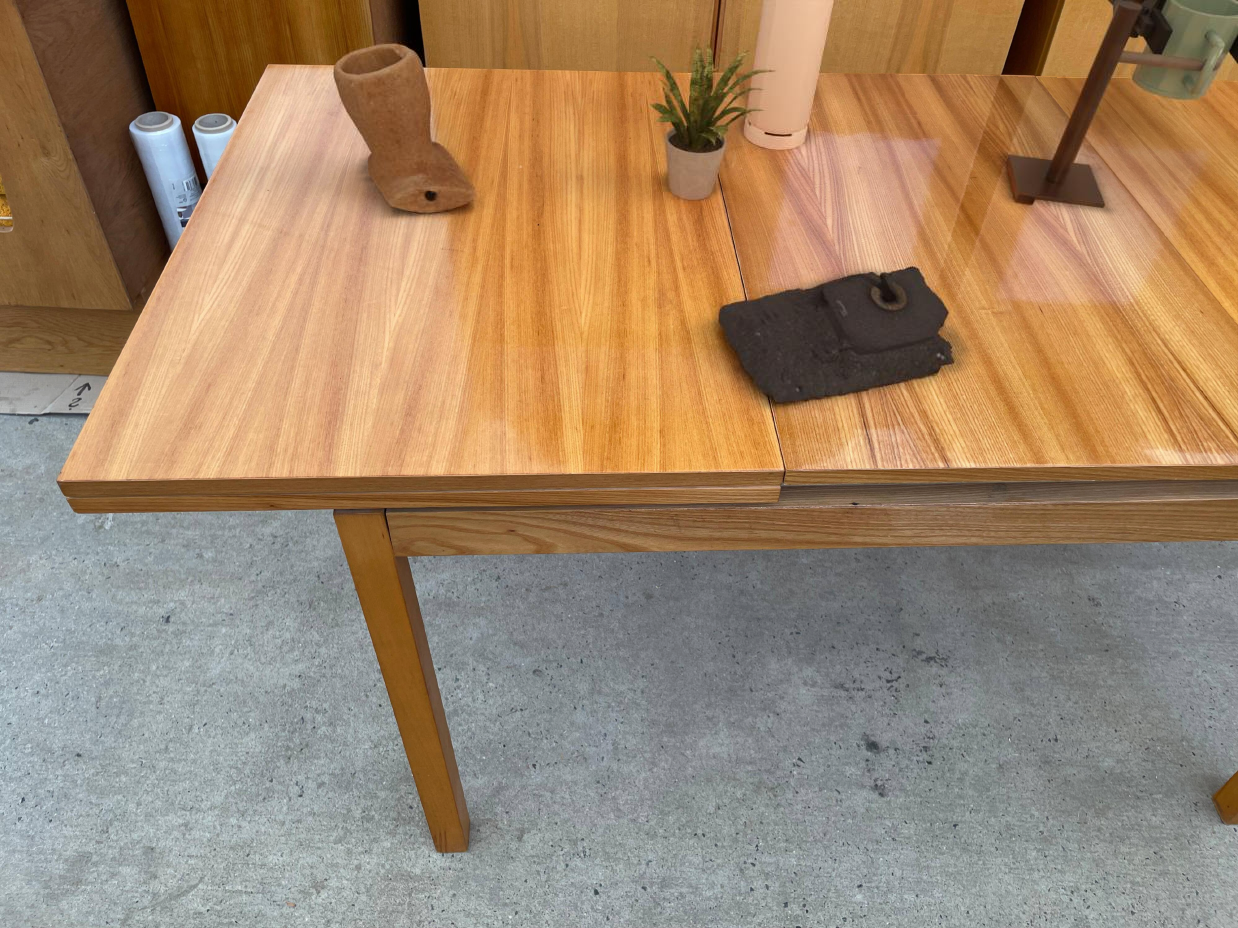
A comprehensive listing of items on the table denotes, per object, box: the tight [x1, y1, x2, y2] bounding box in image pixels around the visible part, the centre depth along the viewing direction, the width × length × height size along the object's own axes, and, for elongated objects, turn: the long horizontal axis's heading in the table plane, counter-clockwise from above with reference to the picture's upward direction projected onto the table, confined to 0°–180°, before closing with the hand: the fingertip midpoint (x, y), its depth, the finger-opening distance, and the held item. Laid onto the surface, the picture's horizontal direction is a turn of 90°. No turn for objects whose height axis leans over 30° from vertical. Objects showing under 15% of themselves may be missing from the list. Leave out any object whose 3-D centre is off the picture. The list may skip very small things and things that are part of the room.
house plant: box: [646, 39, 779, 201], centre depth 99 cm, size 14×14×16 cm
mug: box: [1131, 0, 1238, 101], centre depth 100 cm, size 12×8×9 cm
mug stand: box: [1005, 1, 1222, 209], centre depth 102 cm, size 17×10×21 cm, turn 80°
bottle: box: [743, 0, 835, 151], centre depth 106 cm, size 8×8×28 cm
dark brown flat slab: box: [717, 266, 955, 403], centre depth 85 cm, size 15×22×5 cm
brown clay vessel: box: [332, 43, 477, 214], centre depth 97 cm, size 15×12×15 cm
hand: (1205, 48), depth 97 cm, fingers closed on mug, 8 cm apart
